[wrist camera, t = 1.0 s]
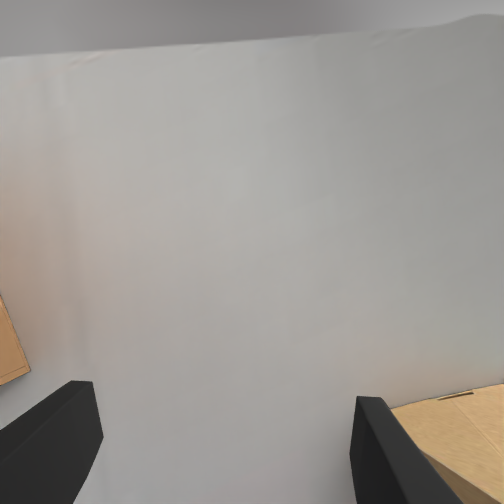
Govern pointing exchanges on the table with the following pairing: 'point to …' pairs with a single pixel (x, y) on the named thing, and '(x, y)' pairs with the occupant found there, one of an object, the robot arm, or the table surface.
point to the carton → (10, 350)
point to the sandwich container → (462, 440)
